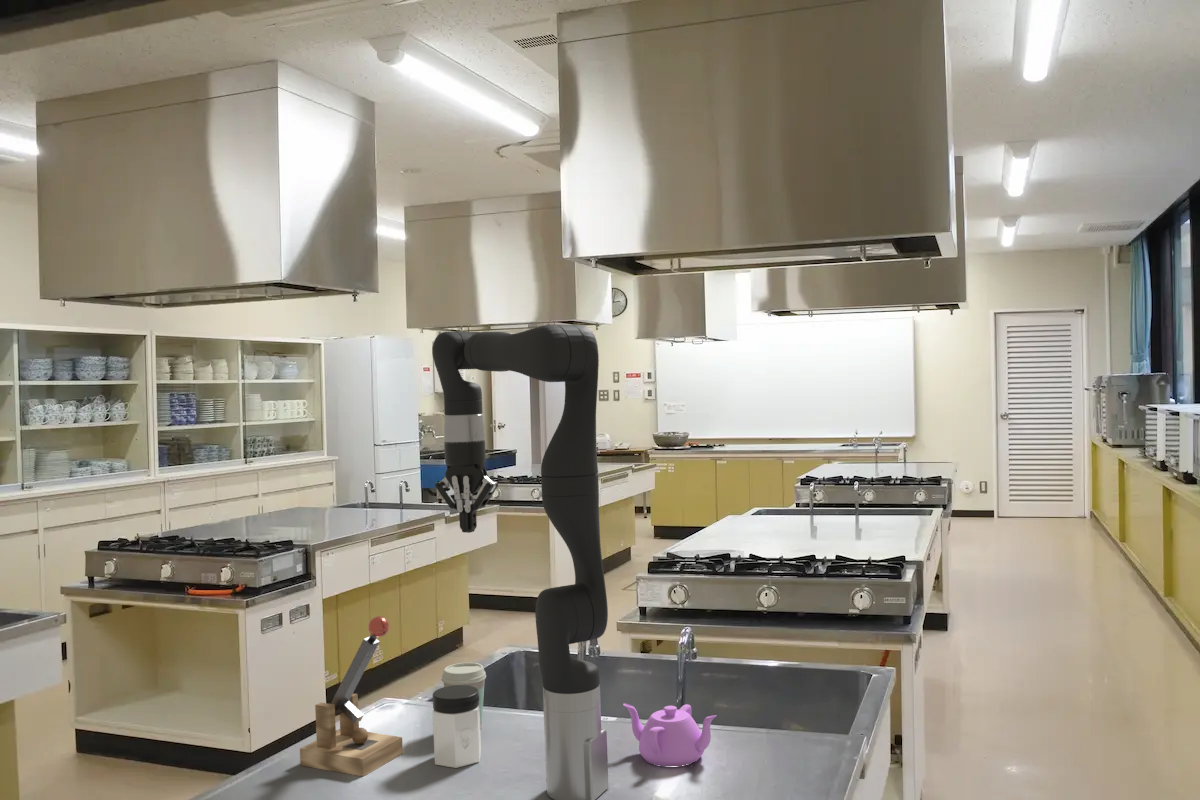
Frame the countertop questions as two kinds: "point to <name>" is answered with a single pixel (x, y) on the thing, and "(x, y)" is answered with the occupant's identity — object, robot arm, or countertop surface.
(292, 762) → the countertop surface
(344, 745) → the cracker base
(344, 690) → the lever
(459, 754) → the jar
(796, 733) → the countertop surface
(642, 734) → the teapot
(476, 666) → the coffee cup
